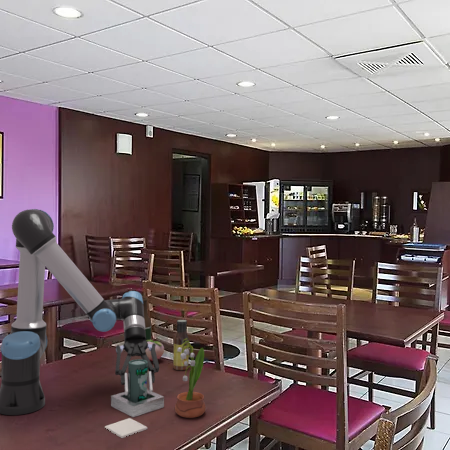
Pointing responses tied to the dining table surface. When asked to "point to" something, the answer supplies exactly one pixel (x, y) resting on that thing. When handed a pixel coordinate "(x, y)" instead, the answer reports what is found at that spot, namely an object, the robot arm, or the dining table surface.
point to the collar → (137, 404)
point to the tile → (125, 427)
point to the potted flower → (191, 386)
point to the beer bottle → (147, 320)
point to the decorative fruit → (158, 348)
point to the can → (137, 380)
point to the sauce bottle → (178, 341)
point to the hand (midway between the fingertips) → (138, 392)
